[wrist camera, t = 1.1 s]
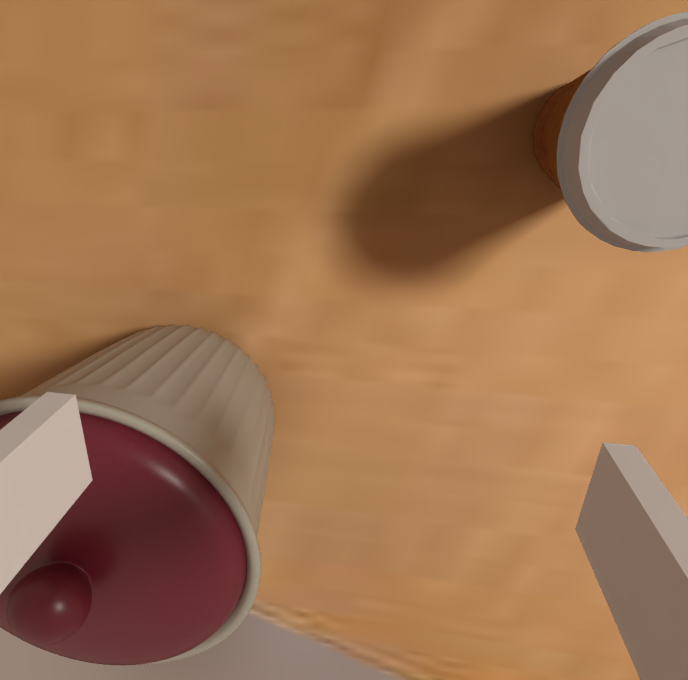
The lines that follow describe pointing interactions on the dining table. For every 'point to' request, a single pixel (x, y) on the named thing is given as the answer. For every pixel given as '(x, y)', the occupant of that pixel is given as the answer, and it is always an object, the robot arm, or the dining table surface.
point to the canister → (152, 503)
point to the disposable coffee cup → (625, 140)
